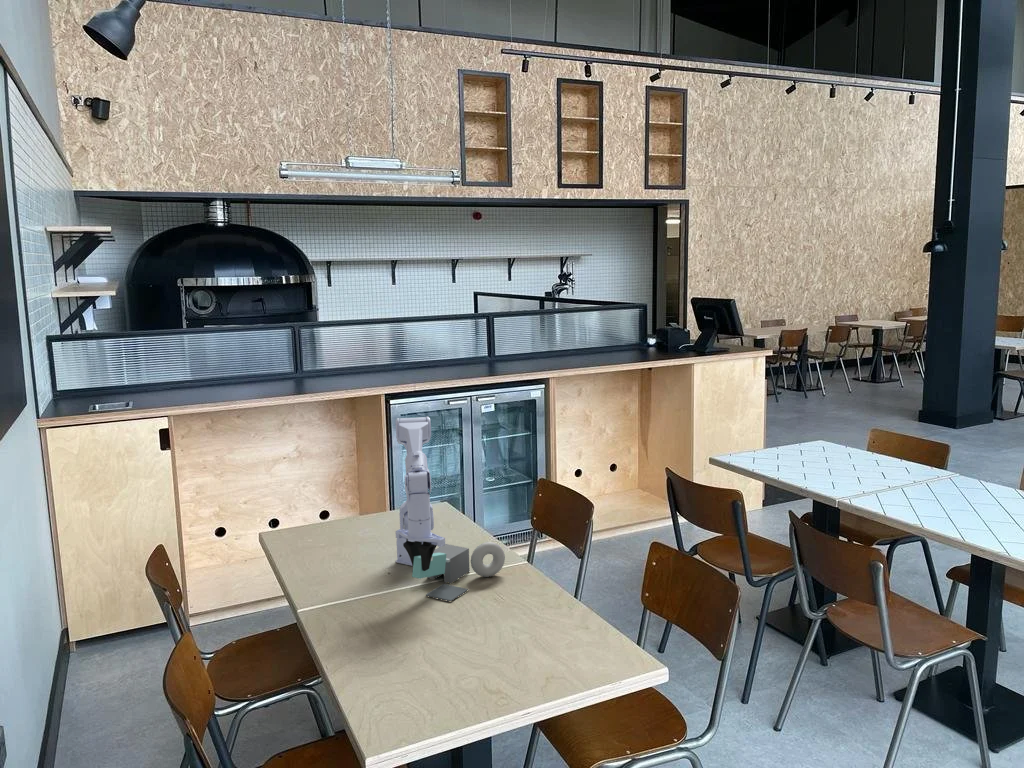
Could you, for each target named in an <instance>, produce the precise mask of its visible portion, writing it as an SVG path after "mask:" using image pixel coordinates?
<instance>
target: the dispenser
mask: <svg viewBox="0 0 1024 768" xmlns="http://www.w3.org/2000/svg"><path fill="white" fill-rule="evenodd" d="M439 552H440V553H444V554H446V564H445V574H443V579H444V580H443V581H444V583H446V582H449V583H448V584H450V583H451V584H453V583H454V582H455V580H456V581H458V580H459V579H461V578H462V577H461V576H463V575H464V574H466V573H467V572H469V571H470V548H468V547H464V546H459V545H454V544H448V543H445V545H444V546H442V547H436V548H435V550H434V552H433V553H439ZM470 572H471V571H470ZM470 572H469V573H470ZM467 574H468V573H467ZM467 574H466V575H467ZM440 575H441V576H442V574H440ZM440 575H435V576H430V577H426V578H427V579H428V578H431V579H430V580H432V579H434V578H436V577H438V576H439V577H440ZM464 576H465V575H464ZM464 576H463V577H464ZM439 577H438V578H439ZM460 577H461V578H460ZM458 578H459V579H458ZM436 579H437V578H436ZM457 579H458V580H457ZM434 580H435V579H434ZM453 581H454V582H453ZM452 582H453V583H452Z"/></svg>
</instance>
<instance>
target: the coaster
mask: <svg viewBox="0 0 1024 768" xmlns="http://www.w3.org/2000/svg"><path fill="white" fill-rule="evenodd" d="M467 590H468V591H469V588H464V587H462V586H457V585H456V586H455V585H452V584H449V583H442V584H440V585H439V586H437V587H435V588H434V589H432V590H431V591H429V592H428V593H426V594H425V597H426V596H429V597H428V598H430V597H434V598H438V599H442V600H447V601H452V600H454V599H455V598H457V597H458V596H460V595H462V594H463V593H465V592H466V591H467ZM466 593H467V592H466ZM466 593H465V594H466ZM463 595H464V594H463ZM463 595H462V596H463ZM460 597H461V596H460ZM434 598H433V599H434ZM438 599H437V600H438ZM457 599H458V598H457ZM442 600H441V601H442ZM447 601H446V602H447ZM454 601H455V600H454Z"/></svg>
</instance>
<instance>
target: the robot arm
mask: <svg viewBox="0 0 1024 768" xmlns="http://www.w3.org/2000/svg"><path fill="white" fill-rule="evenodd" d="M431 437H432V423H431V418H430V417H429V416H428V415H427V416H419V417H401V418H399V417H397V418H396V419H395V439H396V442H397V444H398V445H403V446H404V448H405V452H406V456H405V458H404V461H405V462H404V465H405V475H404V489H405V490H404V491H405V492H404V493H405V495H406V500H405V501H404V502H403V503H402V504H401V505H400V507H399V514H398V515H399V529H397V530H395V538H396V560H395V563H398V564H402V565H407V566H411V567H413V563H414V557H415V556H421V564H422V570H423V571H426V570H428V569H429V567H430V562H431V558H432V555H433V552H434V550H435V549H437V548H439V547H442V546H444V545H445V544H446V537H443V536H440V535H438V534H436V533H433V532H432V531H433V530H434V529H435V521H434V519H435V518H434V510H433V505H432V503H431V501H430V500H431V496H430V494H431V493H432V477H431V473H430V469H429V468H428V457H427V455H426V453H424V452H423V445H424V444H426V443H429V442H430V440H431Z"/></svg>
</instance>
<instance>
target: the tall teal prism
mask: <svg viewBox="0 0 1024 768" xmlns="http://www.w3.org/2000/svg"><path fill="white" fill-rule="evenodd" d="M445 564H446V554H444V553H440V552H439V553H433V555H432V558H431V562H430V567H429V569H428V570H426V571H423V570H422V564H421V556H415V557H414V563H413V566H412V575H411V576H412V578H416V579H420V580H421V579H425V578H427V577H430V576H435V575H440V574H443V575H444V574H445Z"/></svg>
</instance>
